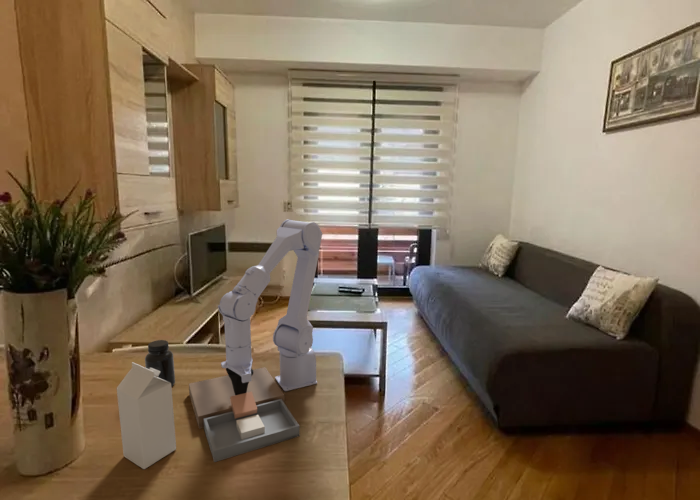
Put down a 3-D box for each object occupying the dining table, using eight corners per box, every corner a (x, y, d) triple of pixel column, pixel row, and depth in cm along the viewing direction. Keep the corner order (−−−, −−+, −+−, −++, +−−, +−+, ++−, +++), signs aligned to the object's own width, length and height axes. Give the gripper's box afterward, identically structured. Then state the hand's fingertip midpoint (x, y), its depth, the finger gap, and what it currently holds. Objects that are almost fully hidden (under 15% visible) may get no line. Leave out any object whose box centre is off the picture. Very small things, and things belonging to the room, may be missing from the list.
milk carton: (144, 470, 79) (135, 379, 76) (123, 456, 83) (114, 369, 80) (176, 449, 85) (170, 364, 82) (155, 437, 89) (148, 355, 85)
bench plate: (265, 377, 115) (265, 367, 115) (284, 405, 102) (284, 394, 101) (189, 394, 106) (188, 383, 106) (199, 428, 92) (198, 416, 92)
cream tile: (264, 426, 90) (264, 432, 90) (258, 414, 94) (258, 420, 95) (241, 433, 88) (241, 439, 88) (236, 420, 92) (236, 426, 92)
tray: (281, 408, 101) (281, 398, 100) (299, 436, 90) (299, 425, 90) (204, 428, 92) (203, 418, 92) (214, 462, 82) (213, 451, 81)
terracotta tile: (251, 395, 99) (251, 391, 98) (256, 413, 95) (257, 408, 95) (230, 400, 97) (230, 396, 96) (234, 418, 93) (235, 414, 92)
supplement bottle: (180, 383, 111) (177, 341, 109) (157, 395, 106) (153, 351, 103) (165, 376, 115) (162, 336, 113) (141, 387, 109) (137, 344, 107)
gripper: (214, 334, 100) (217, 386, 103) (227, 359, 88) (230, 417, 90) (243, 330, 104) (245, 380, 106) (260, 352, 91) (261, 408, 94)
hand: (240, 396), depth 98 cm, fingers closed
